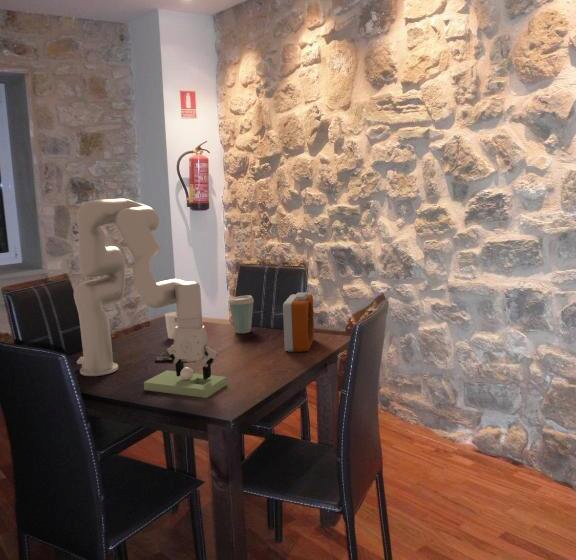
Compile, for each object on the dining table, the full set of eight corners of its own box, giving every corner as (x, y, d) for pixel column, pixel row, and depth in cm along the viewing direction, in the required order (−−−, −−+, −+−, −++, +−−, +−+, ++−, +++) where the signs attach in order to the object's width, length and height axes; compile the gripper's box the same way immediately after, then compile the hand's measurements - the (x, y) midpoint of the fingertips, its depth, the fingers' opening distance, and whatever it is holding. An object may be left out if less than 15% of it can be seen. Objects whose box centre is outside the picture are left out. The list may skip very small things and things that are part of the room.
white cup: (180, 340, 239) (178, 316, 237) (163, 339, 241) (161, 315, 239) (189, 335, 246) (187, 311, 244) (172, 334, 248) (170, 311, 247)
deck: (144, 389, 181) (143, 382, 181) (167, 377, 192) (166, 370, 191) (206, 398, 172) (206, 389, 171) (226, 384, 183) (226, 377, 182)
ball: (184, 367, 178) (190, 379, 178) (191, 363, 182) (197, 374, 182) (175, 372, 180) (181, 383, 180) (182, 368, 184) (188, 379, 183)
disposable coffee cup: (231, 335, 242) (229, 300, 239) (229, 329, 252) (227, 295, 250) (257, 333, 244) (255, 298, 241) (253, 327, 254) (251, 293, 252)
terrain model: (195, 364, 207) (194, 356, 206) (154, 364, 209) (154, 356, 209) (211, 348, 227) (211, 340, 226) (174, 348, 229) (174, 340, 229)
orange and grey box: (308, 352, 213) (306, 297, 210) (284, 352, 215) (282, 297, 211) (314, 339, 231) (312, 288, 228) (292, 339, 233) (290, 288, 229)
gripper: (158, 323, 177) (163, 377, 180) (207, 327, 170) (211, 383, 173) (173, 317, 184) (177, 370, 187) (221, 321, 177) (224, 375, 180)
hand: (193, 376), depth 180 cm, fingers open, 9 cm apart
